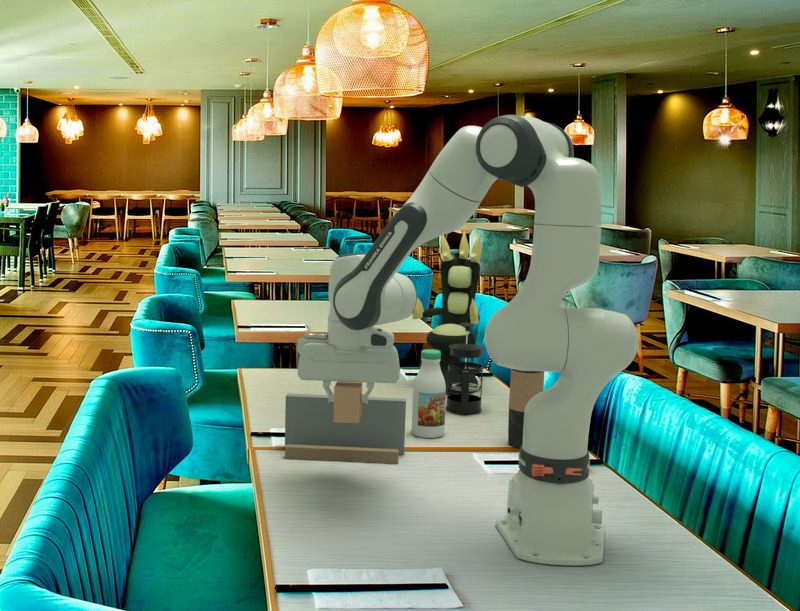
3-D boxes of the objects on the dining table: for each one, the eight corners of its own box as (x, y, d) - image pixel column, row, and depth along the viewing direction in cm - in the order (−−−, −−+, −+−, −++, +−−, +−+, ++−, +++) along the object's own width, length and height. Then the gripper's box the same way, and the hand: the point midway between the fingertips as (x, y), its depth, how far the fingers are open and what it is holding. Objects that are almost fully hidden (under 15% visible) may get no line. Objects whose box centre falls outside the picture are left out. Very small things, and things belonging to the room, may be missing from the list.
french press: (445, 404, 242) (449, 319, 239) (480, 405, 242) (484, 320, 239) (445, 415, 231) (449, 326, 227) (482, 417, 230) (486, 328, 227)
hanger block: (358, 423, 178) (359, 388, 177) (333, 422, 178) (334, 387, 177) (361, 414, 185) (362, 381, 184) (336, 413, 185) (337, 380, 184)
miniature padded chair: (406, 391, 255) (411, 231, 249) (428, 375, 276) (434, 227, 269) (471, 398, 249) (479, 234, 243) (489, 382, 270) (497, 230, 264)
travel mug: (539, 451, 204) (544, 363, 201) (505, 447, 205) (509, 361, 202) (541, 441, 211) (546, 357, 208) (508, 438, 213) (512, 354, 210)
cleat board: (402, 463, 191) (404, 408, 190) (280, 458, 192) (280, 402, 191) (404, 451, 200) (406, 398, 198) (286, 446, 201) (287, 393, 199)
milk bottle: (405, 435, 212) (408, 351, 209) (420, 427, 219) (423, 346, 216) (435, 440, 209) (439, 355, 206) (449, 432, 216) (453, 350, 213)
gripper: (295, 335, 177) (293, 404, 178) (400, 338, 176) (398, 408, 178) (299, 330, 183) (298, 397, 184) (401, 334, 182) (399, 401, 184)
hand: (348, 403), depth 181 cm, fingers closed on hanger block, 5 cm apart
